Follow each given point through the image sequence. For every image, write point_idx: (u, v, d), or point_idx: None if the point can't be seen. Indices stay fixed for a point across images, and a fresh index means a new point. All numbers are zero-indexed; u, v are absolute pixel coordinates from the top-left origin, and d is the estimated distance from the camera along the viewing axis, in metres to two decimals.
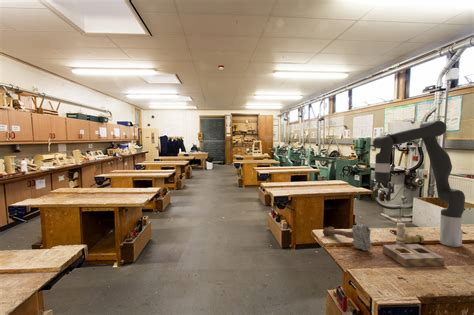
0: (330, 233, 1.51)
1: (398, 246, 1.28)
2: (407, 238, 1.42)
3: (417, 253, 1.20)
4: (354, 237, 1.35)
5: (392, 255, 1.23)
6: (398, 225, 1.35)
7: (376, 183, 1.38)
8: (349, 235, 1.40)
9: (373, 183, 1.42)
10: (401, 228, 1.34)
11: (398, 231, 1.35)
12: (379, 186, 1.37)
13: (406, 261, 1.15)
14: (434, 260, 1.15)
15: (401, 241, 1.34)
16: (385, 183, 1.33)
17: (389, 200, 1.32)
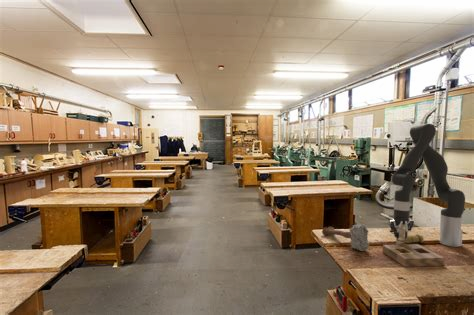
0: (329, 233, 1.51)
1: (398, 246, 1.28)
2: (407, 238, 1.43)
3: (417, 253, 1.20)
4: (351, 237, 1.35)
5: (392, 255, 1.23)
6: None
7: (400, 222, 1.34)
8: (347, 235, 1.39)
9: (393, 224, 1.35)
10: (401, 228, 1.34)
11: None
12: (401, 224, 1.35)
13: (406, 261, 1.15)
14: (434, 260, 1.15)
15: (401, 241, 1.34)
16: (408, 220, 1.35)
17: None
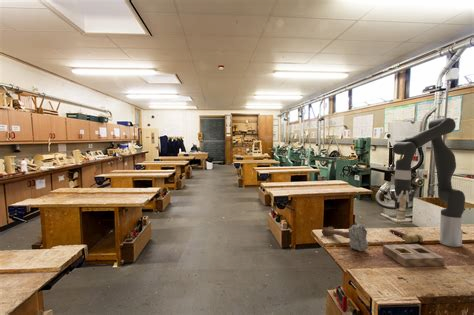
0: (329, 233, 1.51)
1: (398, 246, 1.28)
2: (406, 238, 1.43)
3: (417, 253, 1.20)
4: (350, 237, 1.35)
5: (392, 255, 1.23)
6: None
7: (401, 192, 1.30)
8: (346, 235, 1.39)
9: None
10: (402, 198, 1.30)
11: (399, 201, 1.31)
12: None
13: (406, 261, 1.15)
14: (434, 260, 1.15)
15: (401, 211, 1.31)
16: (409, 190, 1.31)
17: None
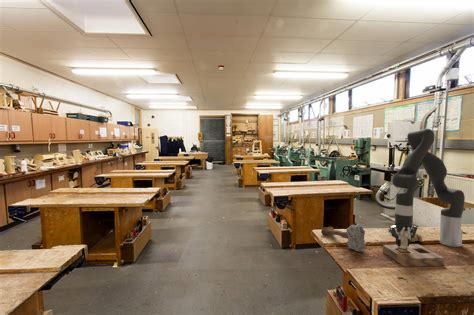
0: (328, 233, 1.52)
1: None
2: None
3: (417, 253, 1.20)
4: (348, 237, 1.35)
5: (392, 255, 1.23)
6: None
7: (402, 229, 1.20)
8: (344, 235, 1.39)
9: (394, 230, 1.21)
10: (403, 235, 1.21)
11: None
12: (403, 231, 1.21)
13: (406, 261, 1.15)
14: (434, 260, 1.15)
15: (403, 249, 1.21)
16: (411, 226, 1.21)
17: None
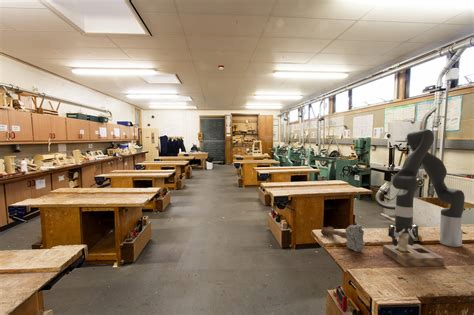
0: (327, 233, 1.52)
1: None
2: None
3: (417, 253, 1.20)
4: (347, 237, 1.35)
5: (392, 255, 1.23)
6: None
7: (402, 230, 1.20)
8: (343, 235, 1.39)
9: (393, 230, 1.21)
10: (403, 237, 1.21)
11: (400, 241, 1.22)
12: (403, 232, 1.21)
13: (406, 261, 1.15)
14: (434, 260, 1.15)
15: (403, 252, 1.21)
16: (411, 227, 1.21)
17: None
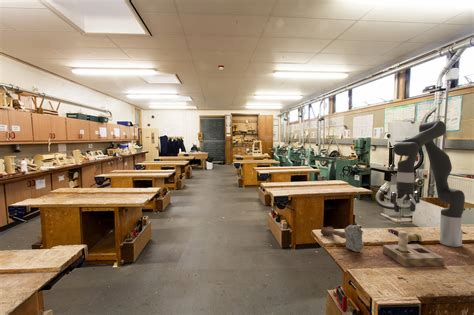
0: (327, 233, 1.52)
1: None
2: None
3: (417, 253, 1.20)
4: (346, 237, 1.35)
5: (392, 255, 1.23)
6: (400, 234, 1.22)
7: (404, 195, 1.21)
8: (343, 235, 1.39)
9: None
10: (403, 237, 1.21)
11: (400, 241, 1.22)
12: (405, 198, 1.22)
13: (406, 261, 1.15)
14: (434, 260, 1.15)
15: (403, 252, 1.21)
16: (413, 193, 1.22)
17: (411, 210, 1.24)
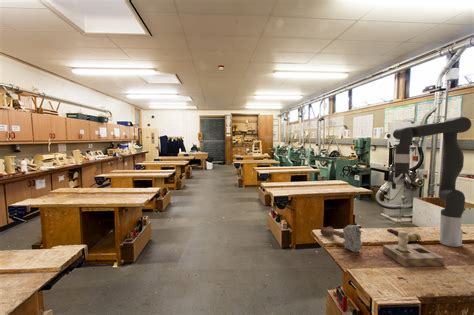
0: (327, 233, 1.52)
1: None
2: None
3: (417, 253, 1.20)
4: (344, 237, 1.35)
5: (392, 255, 1.23)
6: (400, 234, 1.22)
7: (400, 174, 1.37)
8: (341, 235, 1.39)
9: (392, 175, 1.39)
10: (403, 237, 1.21)
11: (400, 241, 1.22)
12: (401, 177, 1.38)
13: (406, 261, 1.15)
14: (434, 260, 1.15)
15: (403, 252, 1.21)
16: (408, 173, 1.39)
17: (407, 188, 1.41)
